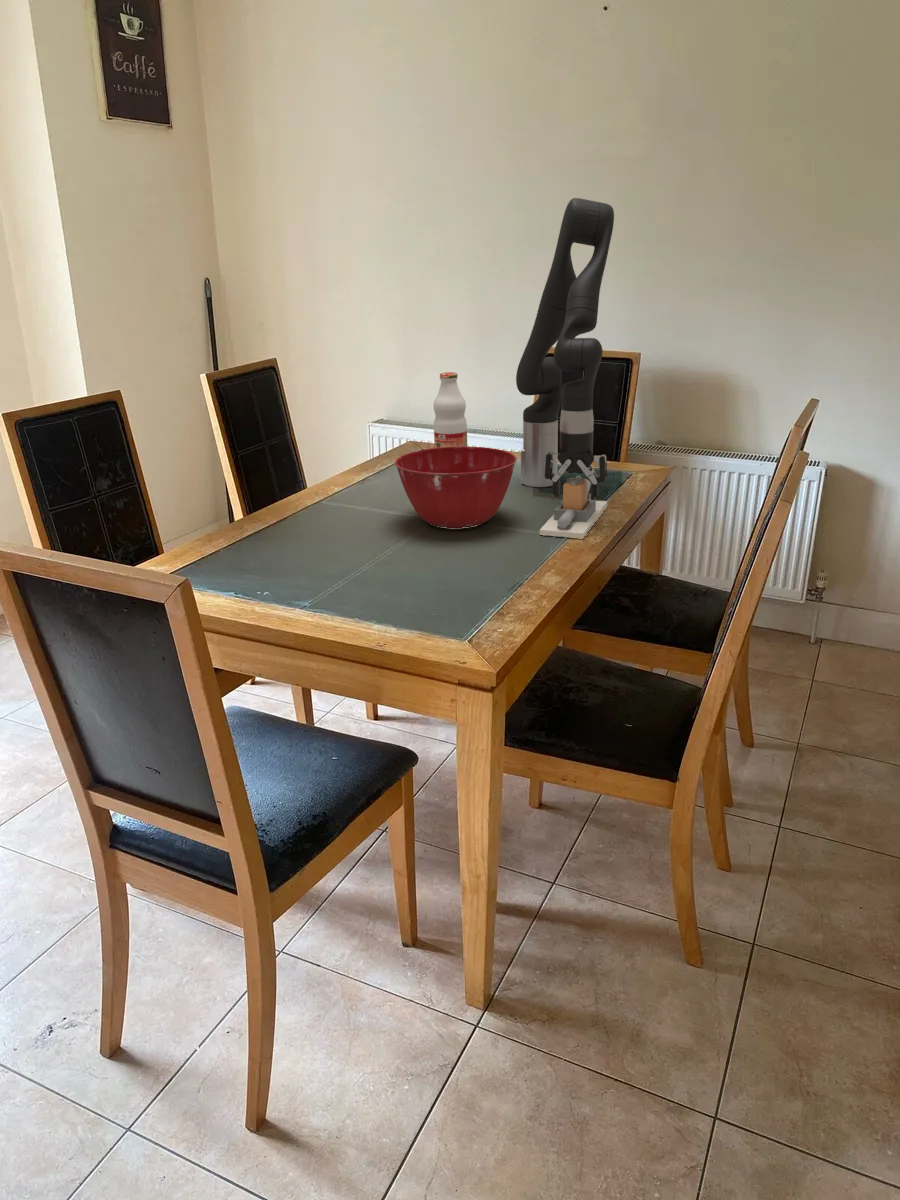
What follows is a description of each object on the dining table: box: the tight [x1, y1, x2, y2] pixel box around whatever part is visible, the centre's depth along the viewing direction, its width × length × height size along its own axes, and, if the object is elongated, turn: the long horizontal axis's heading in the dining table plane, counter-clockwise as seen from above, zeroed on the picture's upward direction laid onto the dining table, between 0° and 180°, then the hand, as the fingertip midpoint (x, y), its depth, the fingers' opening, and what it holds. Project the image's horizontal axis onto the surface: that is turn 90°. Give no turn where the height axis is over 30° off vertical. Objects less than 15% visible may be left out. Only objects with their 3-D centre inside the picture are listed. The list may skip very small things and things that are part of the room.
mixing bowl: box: [394, 446, 518, 528], centre depth 214 cm, size 28×28×15 cm
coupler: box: [562, 474, 589, 510], centre depth 211 cm, size 6×4×9 cm, turn 159°
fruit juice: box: [433, 371, 468, 448], centre depth 255 cm, size 9×9×28 cm
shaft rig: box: [539, 479, 608, 539], centre depth 212 cm, size 10×26×7 cm, turn 159°
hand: (575, 497), depth 211 cm, fingers open, 8 cm apart
